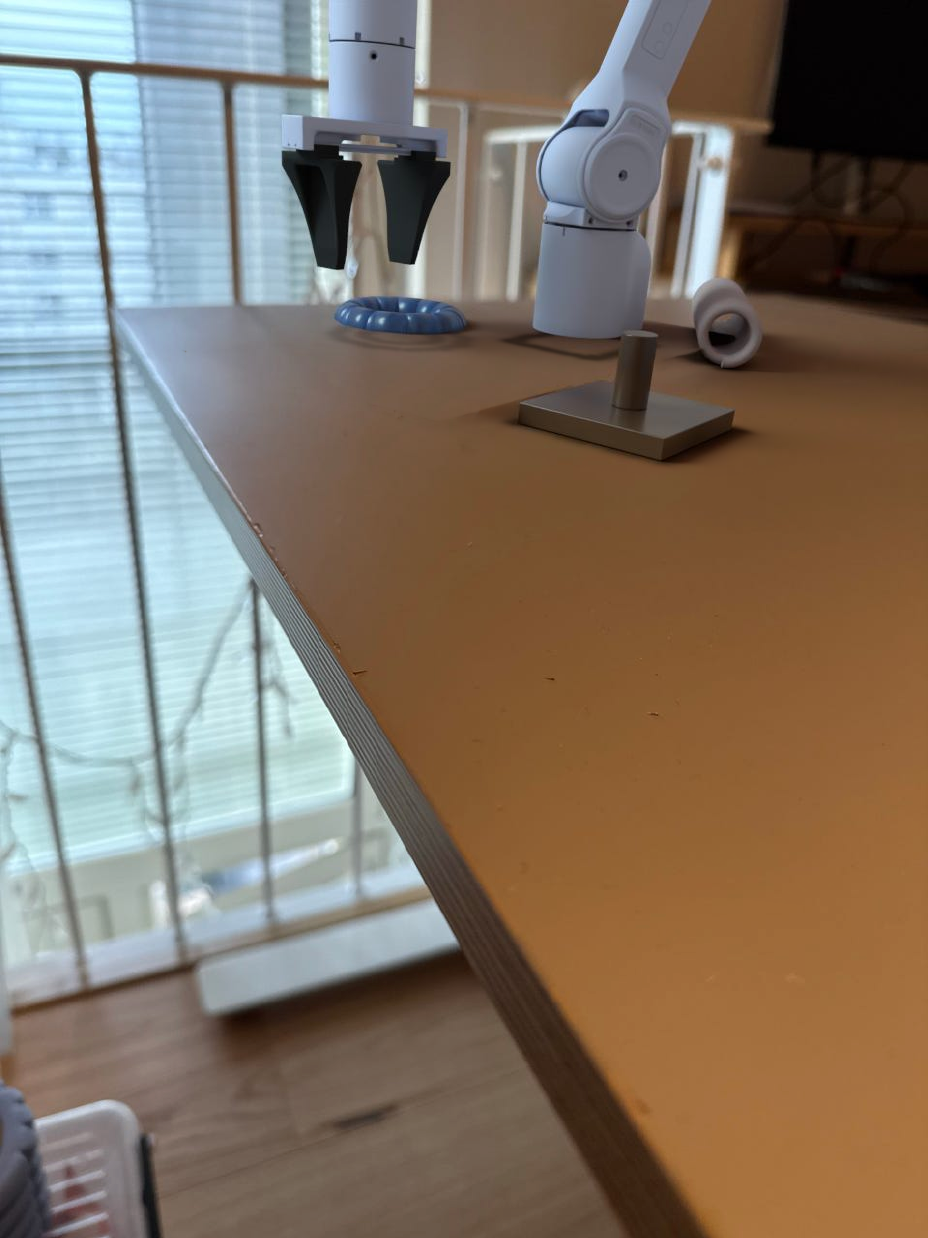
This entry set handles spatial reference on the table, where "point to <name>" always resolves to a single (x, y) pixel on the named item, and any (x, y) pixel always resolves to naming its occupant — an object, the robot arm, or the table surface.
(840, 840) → the table surface
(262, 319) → the table surface
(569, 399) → the peg stand
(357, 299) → the blue segmented ring
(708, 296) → the coil
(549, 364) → the table surface
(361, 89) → the robot arm
